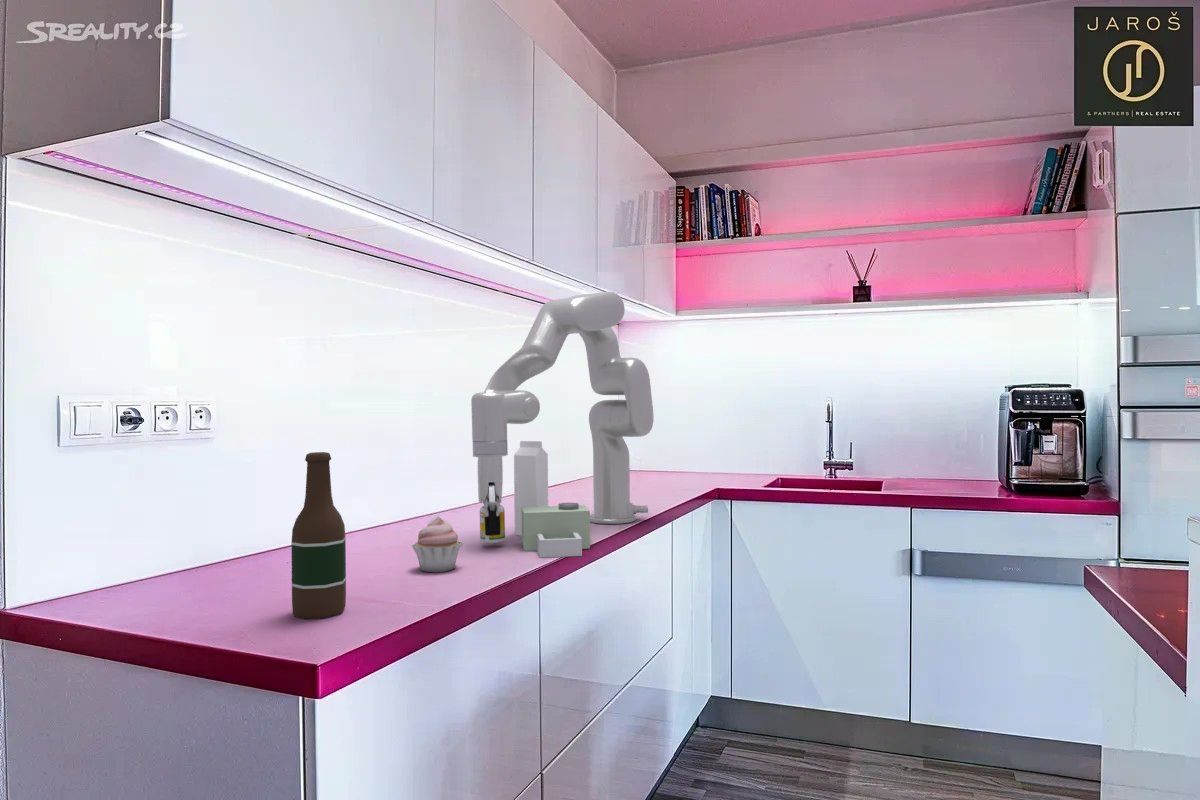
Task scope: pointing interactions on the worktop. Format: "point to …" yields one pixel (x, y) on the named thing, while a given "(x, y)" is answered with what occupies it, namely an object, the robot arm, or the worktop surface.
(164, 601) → the worktop surface
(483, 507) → the supplement bottle
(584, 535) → the green box with tray
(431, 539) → the cupcake
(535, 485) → the milk
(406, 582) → the worktop surface
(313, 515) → the beer bottle
